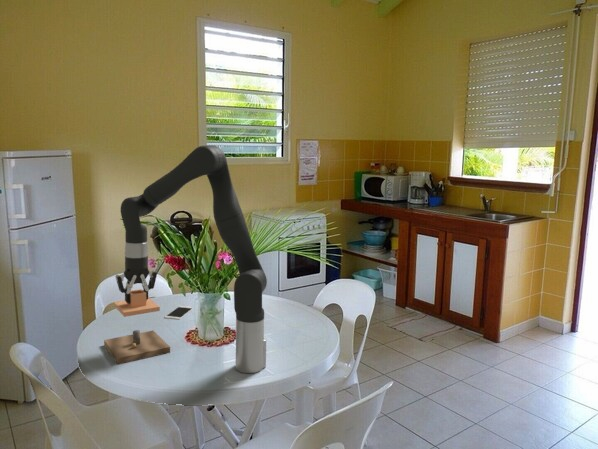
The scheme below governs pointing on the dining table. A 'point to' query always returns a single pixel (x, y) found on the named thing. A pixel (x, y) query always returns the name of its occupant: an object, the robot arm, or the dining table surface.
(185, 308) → the smartphone
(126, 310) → the flange plate
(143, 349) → the post base
